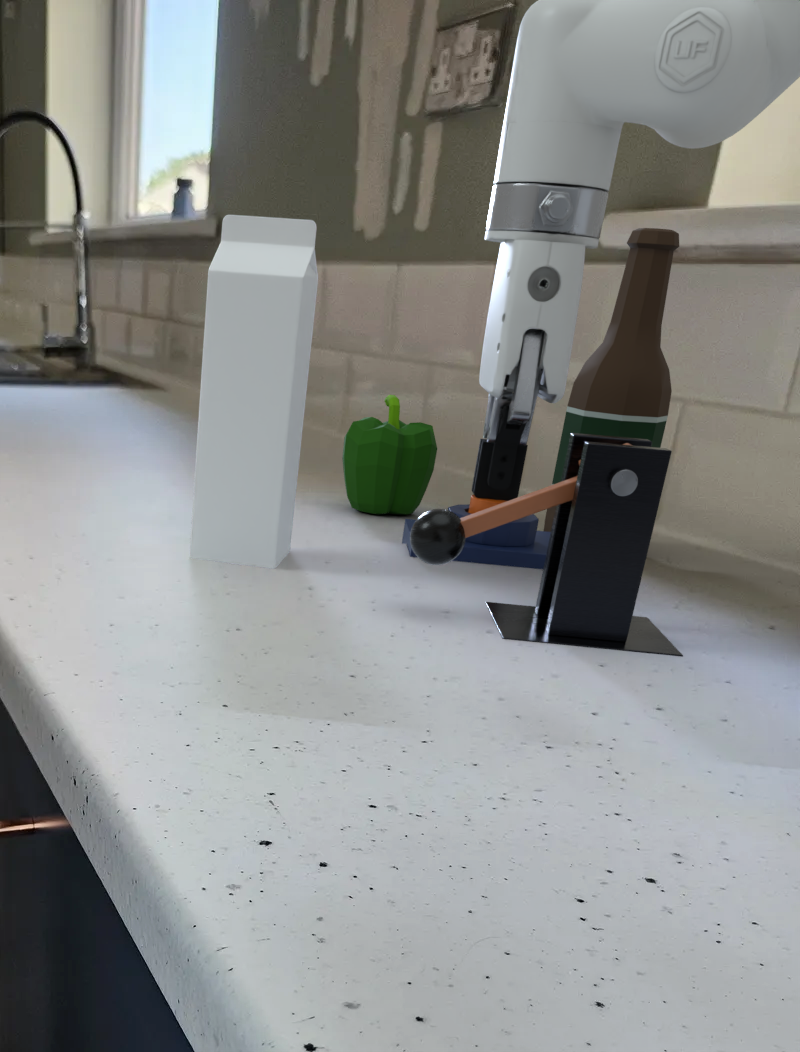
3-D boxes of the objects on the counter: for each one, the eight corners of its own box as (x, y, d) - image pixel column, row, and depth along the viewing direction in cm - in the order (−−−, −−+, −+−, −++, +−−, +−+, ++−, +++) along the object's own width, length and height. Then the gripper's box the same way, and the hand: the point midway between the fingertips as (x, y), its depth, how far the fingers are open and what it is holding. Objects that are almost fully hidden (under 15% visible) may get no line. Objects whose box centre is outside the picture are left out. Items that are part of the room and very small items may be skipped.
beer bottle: (655, 555, 94) (733, 234, 84) (593, 561, 90) (666, 225, 80) (582, 535, 100) (646, 233, 89) (521, 540, 96) (580, 224, 86)
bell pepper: (420, 525, 98) (438, 405, 94) (328, 513, 100) (342, 395, 96) (432, 510, 106) (450, 398, 101) (346, 499, 108) (360, 389, 104)
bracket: (498, 657, 64) (539, 442, 59) (482, 620, 71) (517, 425, 66) (678, 675, 63) (735, 459, 58) (643, 635, 70) (691, 440, 65)
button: (512, 519, 86) (516, 496, 85) (519, 528, 82) (524, 504, 82) (464, 515, 86) (468, 491, 85) (469, 524, 83) (474, 500, 82)
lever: (421, 578, 65) (404, 526, 64) (417, 566, 68) (401, 515, 67) (651, 497, 62) (637, 441, 61) (637, 488, 65) (624, 434, 63)
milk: (208, 557, 82) (232, 217, 73) (290, 567, 81) (325, 223, 71) (186, 575, 76) (210, 210, 67) (274, 586, 75) (310, 216, 66)
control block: (553, 560, 89) (563, 509, 87) (575, 588, 81) (587, 532, 79) (401, 546, 90) (408, 495, 88) (407, 572, 82) (416, 516, 80)
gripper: (627, 219, 69) (563, 522, 76) (579, 229, 82) (529, 486, 90) (503, 209, 69) (452, 511, 77) (475, 221, 83) (434, 477, 90)
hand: (493, 497), depth 83 cm, fingers closed
